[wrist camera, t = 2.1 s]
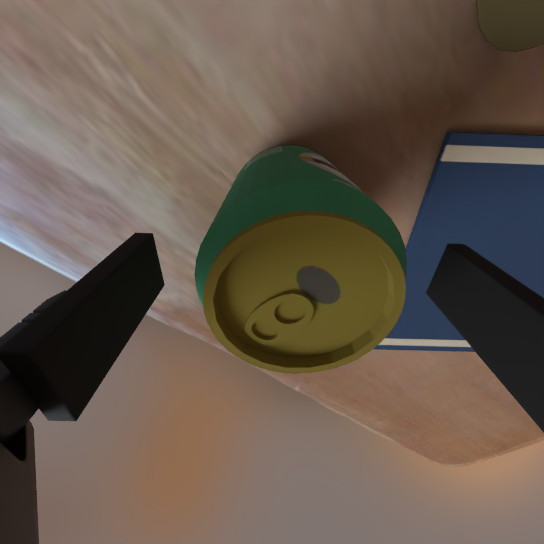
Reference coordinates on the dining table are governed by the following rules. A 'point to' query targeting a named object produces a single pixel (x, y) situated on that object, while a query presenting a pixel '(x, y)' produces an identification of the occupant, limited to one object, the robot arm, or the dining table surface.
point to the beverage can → (300, 266)
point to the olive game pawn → (512, 23)
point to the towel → (473, 227)
